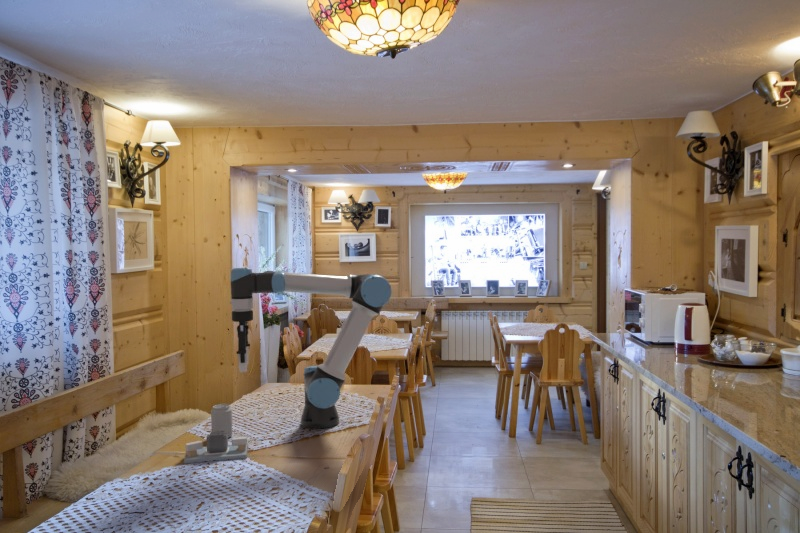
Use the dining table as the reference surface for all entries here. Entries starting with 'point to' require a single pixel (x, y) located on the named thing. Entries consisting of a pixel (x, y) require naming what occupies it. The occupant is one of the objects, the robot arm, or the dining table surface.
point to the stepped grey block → (217, 442)
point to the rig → (200, 453)
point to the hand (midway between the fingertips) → (244, 368)
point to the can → (221, 418)
